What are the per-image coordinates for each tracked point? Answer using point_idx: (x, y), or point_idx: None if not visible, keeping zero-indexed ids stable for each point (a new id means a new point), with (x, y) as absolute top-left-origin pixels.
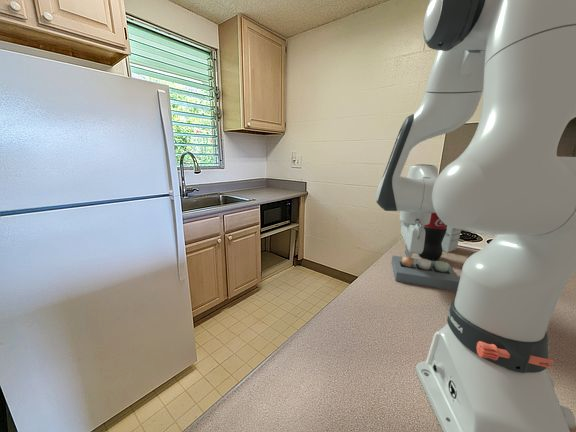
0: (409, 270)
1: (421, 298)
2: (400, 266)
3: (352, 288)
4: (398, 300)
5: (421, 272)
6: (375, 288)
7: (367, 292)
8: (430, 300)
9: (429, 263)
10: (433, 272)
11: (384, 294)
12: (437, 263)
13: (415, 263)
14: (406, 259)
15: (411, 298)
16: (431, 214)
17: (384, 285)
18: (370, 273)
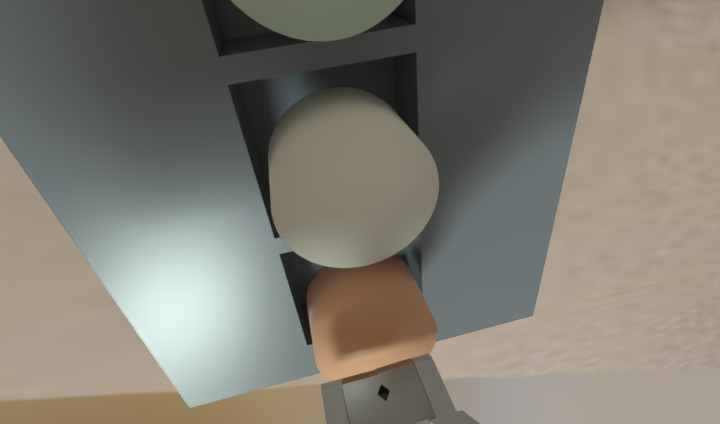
0: (477, 258)
1: (688, 117)
2: None
3: (605, 368)
4: (698, 221)
5: (488, 171)
6: (596, 315)
7: (632, 327)
8: (714, 61)
9: (419, 141)
10: (443, 46)
11: (646, 277)
12: (379, 15)
13: (266, 237)
14: (415, 352)
15: (684, 169)
16: None
17: (562, 296)
18: (446, 370)
